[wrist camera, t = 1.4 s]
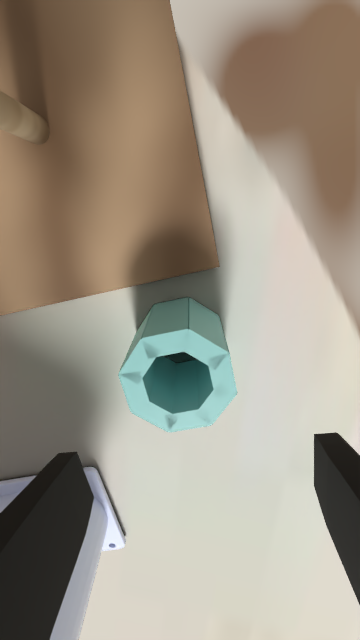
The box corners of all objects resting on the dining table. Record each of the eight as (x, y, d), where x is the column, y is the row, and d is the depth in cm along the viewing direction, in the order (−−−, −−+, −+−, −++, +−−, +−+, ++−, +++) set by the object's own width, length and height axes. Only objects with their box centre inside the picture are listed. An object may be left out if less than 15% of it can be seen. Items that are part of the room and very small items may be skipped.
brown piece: (-15, 315, 18) (-120, 369, 12) (-174, -31, 13) (-501, -247, 7) (217, 263, 17) (234, 294, 11) (140, -147, 12) (85, -553, 5)
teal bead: (151, 382, 19) (139, 437, 15) (129, 309, 18) (108, 344, 13) (229, 368, 19) (242, 420, 14) (214, 291, 17) (223, 321, 13)
